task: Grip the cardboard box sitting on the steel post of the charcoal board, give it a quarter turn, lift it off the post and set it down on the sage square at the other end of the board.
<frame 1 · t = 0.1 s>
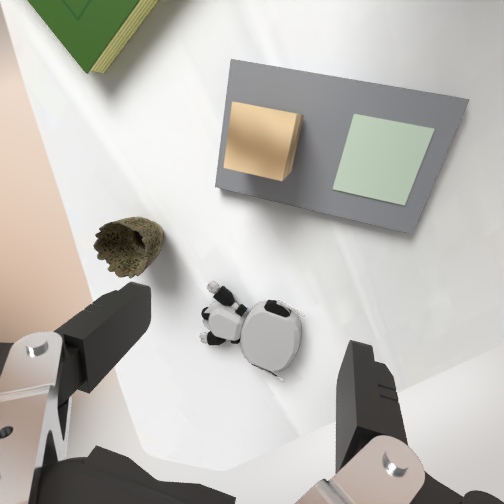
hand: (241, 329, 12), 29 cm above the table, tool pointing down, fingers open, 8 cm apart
robot toy: (253, 318, 48), on the table
cardboard box: (271, 138, 35), point 2 cm above the table, touching post board
post board: (325, 148, 36), on the table
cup: (154, 231, 46), on the table
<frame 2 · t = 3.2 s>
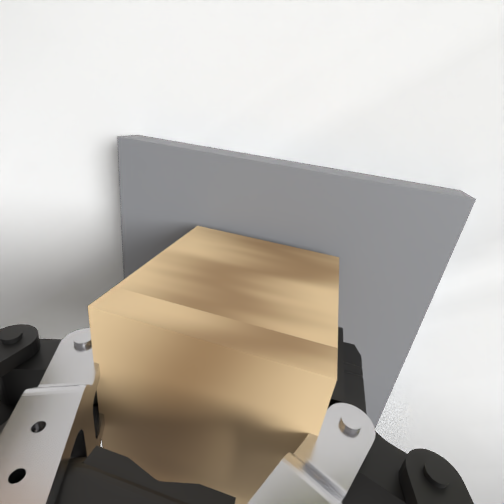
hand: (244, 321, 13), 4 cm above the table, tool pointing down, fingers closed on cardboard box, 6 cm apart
cardboard box: (255, 301, 14), point 2 cm above the table, touching gripper, post board
post board: (249, 369, 18), on the table
when the fingers open (4 cm above the table, at t = 11.0 s): cardboard box stays where it is, resting on post board.
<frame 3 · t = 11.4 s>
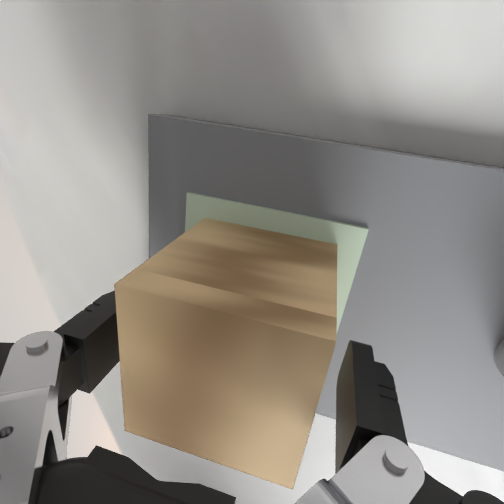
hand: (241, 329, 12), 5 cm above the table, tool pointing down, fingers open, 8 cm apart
cardboard box: (259, 288, 15), point 2 cm above the table, touching post board
post board: (384, 302, 16), on the table
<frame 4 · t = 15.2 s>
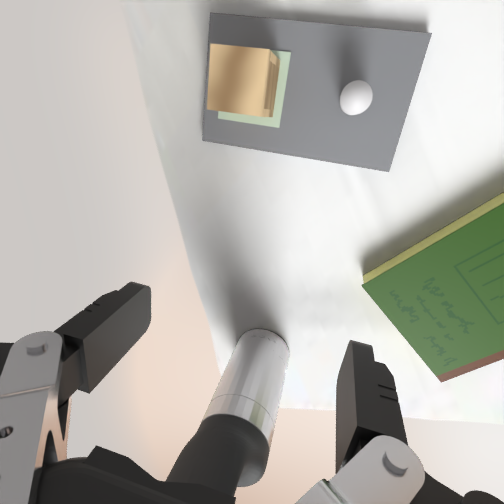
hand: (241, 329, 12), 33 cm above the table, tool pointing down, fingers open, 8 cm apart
cardboard box: (252, 86, 38), point 2 cm above the table, touching post board
post board: (302, 95, 38), on the table
hardcover book: (484, 276, 42), on the table
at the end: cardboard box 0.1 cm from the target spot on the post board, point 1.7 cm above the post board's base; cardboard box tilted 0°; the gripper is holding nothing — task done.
